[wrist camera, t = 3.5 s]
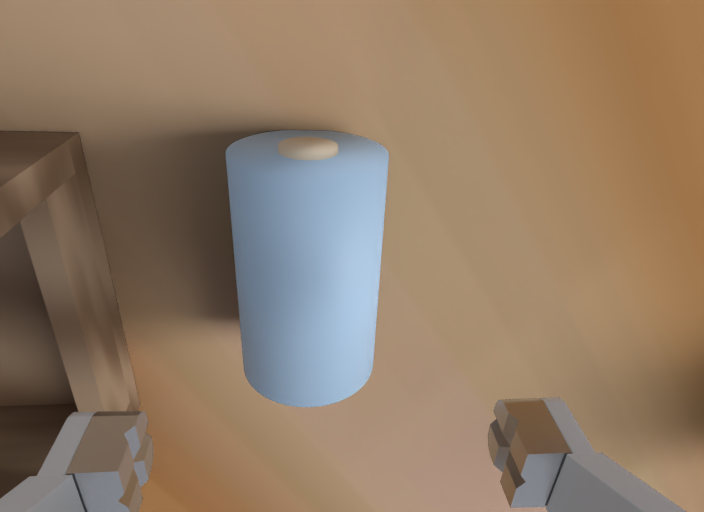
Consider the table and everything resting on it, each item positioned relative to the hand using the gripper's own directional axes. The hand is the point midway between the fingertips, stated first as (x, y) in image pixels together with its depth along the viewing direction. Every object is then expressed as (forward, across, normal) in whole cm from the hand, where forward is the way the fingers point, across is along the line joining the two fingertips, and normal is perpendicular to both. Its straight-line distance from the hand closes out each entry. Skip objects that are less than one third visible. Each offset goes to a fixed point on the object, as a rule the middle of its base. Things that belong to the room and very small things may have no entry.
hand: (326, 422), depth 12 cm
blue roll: (+11, 0, -1) cm, 11 cm away
